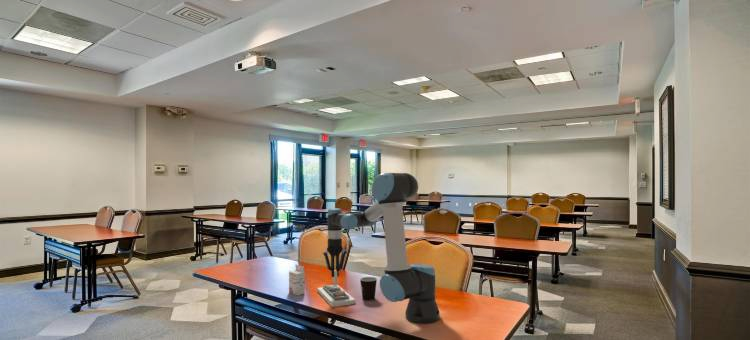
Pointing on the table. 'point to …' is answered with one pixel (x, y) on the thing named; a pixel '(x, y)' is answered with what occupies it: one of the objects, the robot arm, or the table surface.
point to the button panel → (335, 297)
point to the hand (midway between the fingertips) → (335, 282)
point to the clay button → (339, 293)
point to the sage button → (329, 286)
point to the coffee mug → (368, 287)
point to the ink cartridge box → (297, 281)
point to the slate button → (334, 288)
